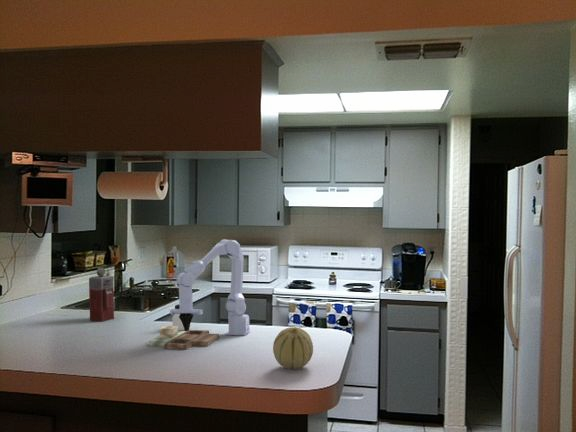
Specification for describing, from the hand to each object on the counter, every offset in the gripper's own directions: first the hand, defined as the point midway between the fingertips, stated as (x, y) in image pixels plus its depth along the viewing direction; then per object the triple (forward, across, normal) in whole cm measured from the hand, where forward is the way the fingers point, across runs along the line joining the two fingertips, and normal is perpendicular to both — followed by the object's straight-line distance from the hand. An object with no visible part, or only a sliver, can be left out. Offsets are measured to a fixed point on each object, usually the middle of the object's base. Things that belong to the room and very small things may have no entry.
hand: (186, 330), depth 229 cm
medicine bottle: (+5, -13, +23) cm, 27 cm away
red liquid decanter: (+5, -65, +39) cm, 76 cm away
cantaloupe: (+5, +54, -32) cm, 63 cm away
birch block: (+3, -8, 0) cm, 9 cm away
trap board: (+5, 0, 0) cm, 5 cm away
